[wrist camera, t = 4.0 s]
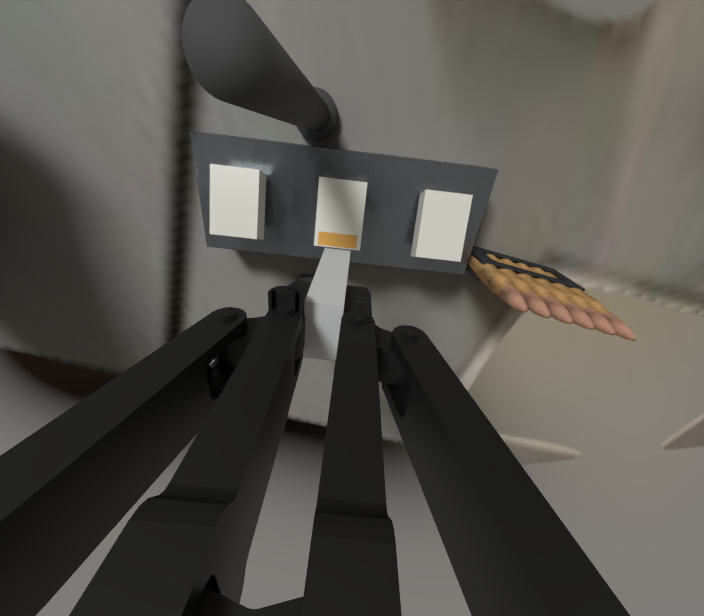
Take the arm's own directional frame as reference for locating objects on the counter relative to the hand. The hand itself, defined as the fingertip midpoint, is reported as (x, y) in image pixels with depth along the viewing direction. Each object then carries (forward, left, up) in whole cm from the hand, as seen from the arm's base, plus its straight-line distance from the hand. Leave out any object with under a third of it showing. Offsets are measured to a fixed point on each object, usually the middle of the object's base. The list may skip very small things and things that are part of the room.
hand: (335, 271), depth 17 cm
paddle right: (+8, +2, -7) cm, 11 cm away
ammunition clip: (+18, -3, -14) cm, 22 cm away
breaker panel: (0, +2, -13) cm, 13 cm away
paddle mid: (0, +2, -7) cm, 8 cm away
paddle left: (-8, +2, -7) cm, 11 cm away
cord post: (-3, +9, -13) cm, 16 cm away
